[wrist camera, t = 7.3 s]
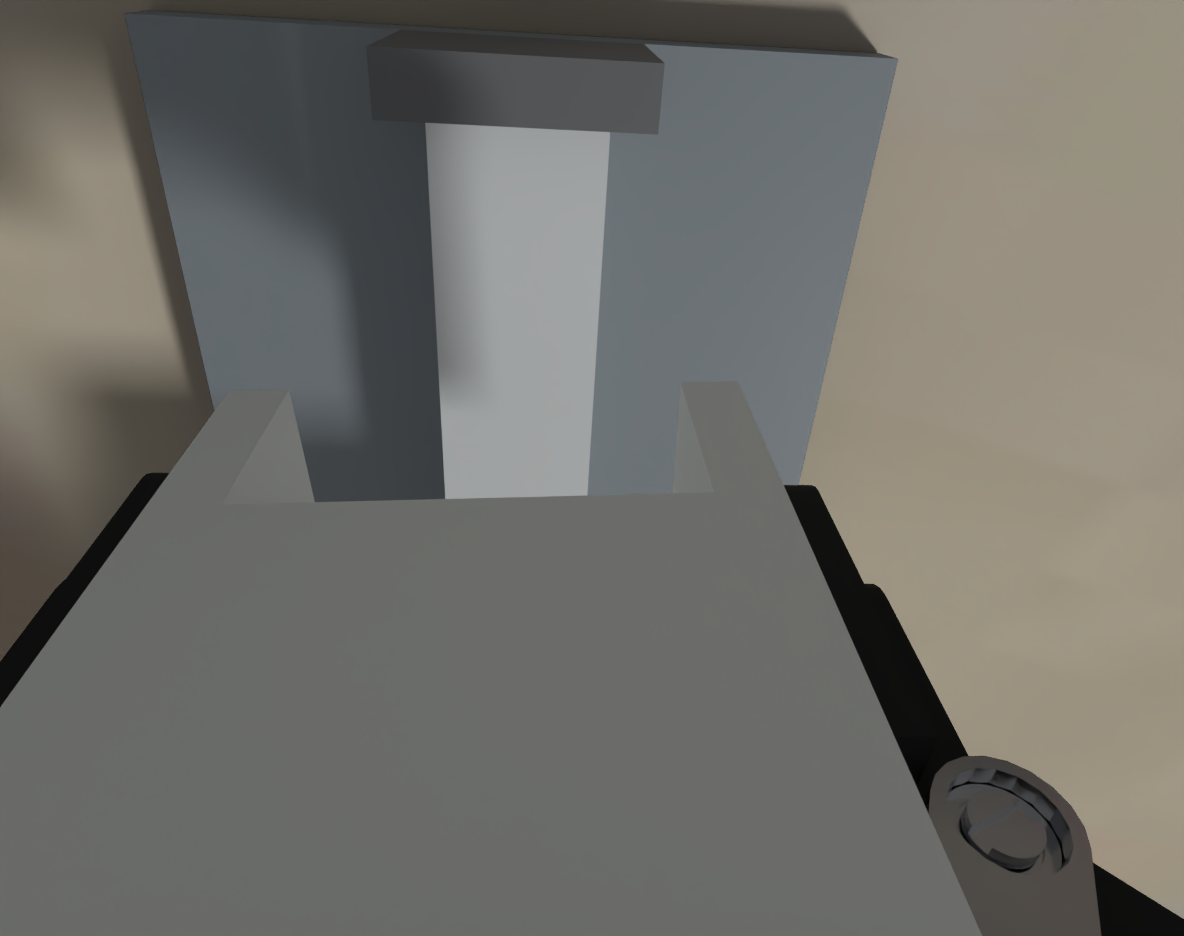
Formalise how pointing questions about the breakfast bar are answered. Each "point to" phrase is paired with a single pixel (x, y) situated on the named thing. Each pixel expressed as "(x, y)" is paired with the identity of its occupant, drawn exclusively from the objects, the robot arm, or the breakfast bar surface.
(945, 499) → the breakfast bar surface
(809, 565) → the block
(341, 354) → the rail
